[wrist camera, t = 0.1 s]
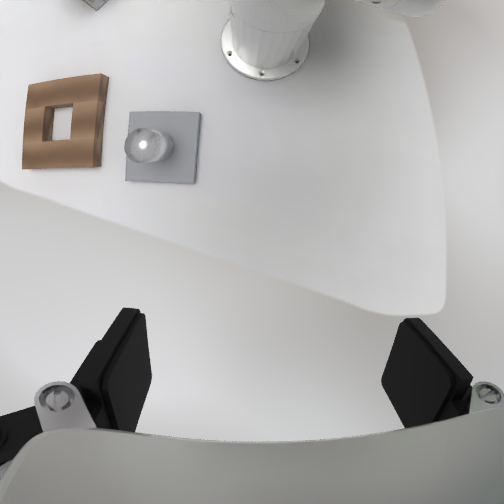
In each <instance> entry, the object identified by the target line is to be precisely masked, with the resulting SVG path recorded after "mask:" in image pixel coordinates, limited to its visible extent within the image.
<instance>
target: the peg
mask: <svg viewBox="0 0 504 504" xmlns="http://www.w3.org/2000/svg"><path fill="white" fill-rule="evenodd" d="M173 151H174V141H173V139H172V137H171V136H170V135H168V134H166V133H163V132H159V131H155V130H150V129H146V128H139V129H136V130H134V131H132V132H131V133H130V134H129V135H128V137H127V138H126V141H125V152H126V155H127V156H128V158H129V159H130V160H131V161H133V162H136V163H147V162H155V161H163V160H166V159H167V158H169V157H170V156H171V155H172V153H173Z"/></svg>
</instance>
